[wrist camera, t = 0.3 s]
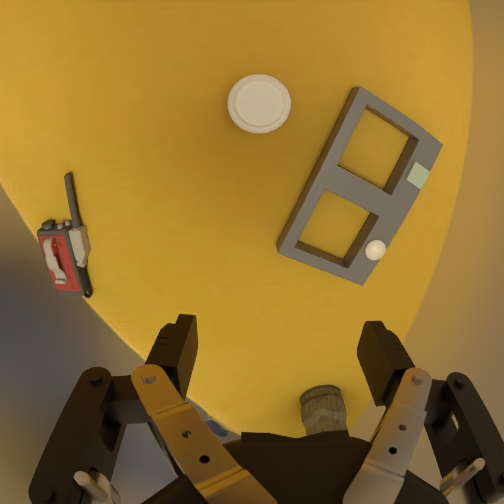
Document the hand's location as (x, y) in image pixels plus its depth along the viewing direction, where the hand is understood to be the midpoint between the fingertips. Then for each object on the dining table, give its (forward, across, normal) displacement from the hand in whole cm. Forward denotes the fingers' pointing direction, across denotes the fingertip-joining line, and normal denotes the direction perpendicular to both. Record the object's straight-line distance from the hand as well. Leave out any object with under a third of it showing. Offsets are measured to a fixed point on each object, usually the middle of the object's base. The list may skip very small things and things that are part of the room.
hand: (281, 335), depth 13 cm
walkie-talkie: (+25, +30, +4) cm, 39 cm away
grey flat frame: (+24, -11, -4) cm, 27 cm away
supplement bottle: (+23, +2, -13) cm, 26 cm away
